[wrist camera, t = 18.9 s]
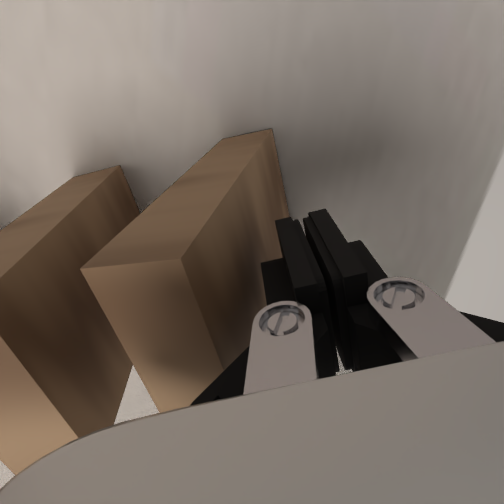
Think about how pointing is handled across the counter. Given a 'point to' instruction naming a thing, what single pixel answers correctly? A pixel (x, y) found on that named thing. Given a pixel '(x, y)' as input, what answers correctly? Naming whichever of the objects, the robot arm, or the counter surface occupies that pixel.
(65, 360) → the domino
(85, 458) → the robot arm
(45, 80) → the counter surface
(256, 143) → the domino
